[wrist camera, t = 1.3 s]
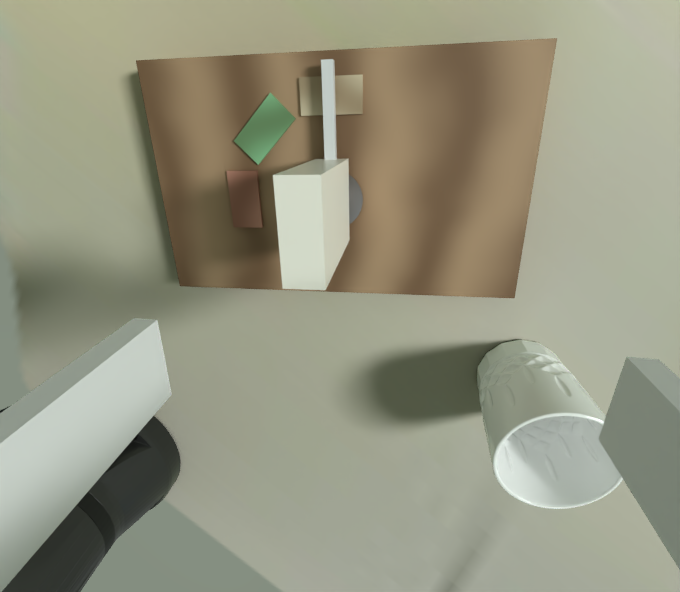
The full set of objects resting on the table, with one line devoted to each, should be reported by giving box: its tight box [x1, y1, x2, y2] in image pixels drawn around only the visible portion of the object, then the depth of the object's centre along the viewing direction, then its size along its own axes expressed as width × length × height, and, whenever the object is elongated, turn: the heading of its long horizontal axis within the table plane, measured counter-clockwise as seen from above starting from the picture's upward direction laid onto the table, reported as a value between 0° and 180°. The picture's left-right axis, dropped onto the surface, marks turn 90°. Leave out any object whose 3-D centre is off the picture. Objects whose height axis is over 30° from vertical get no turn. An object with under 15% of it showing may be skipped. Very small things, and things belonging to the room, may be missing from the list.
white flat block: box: [273, 59, 350, 290], centre depth 22 cm, size 2×11×10 cm, turn 1°
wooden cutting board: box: [136, 38, 557, 298], centre depth 28 cm, size 26×16×3 cm, turn 91°
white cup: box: [477, 340, 623, 509], centre depth 29 cm, size 8×8×10 cm
